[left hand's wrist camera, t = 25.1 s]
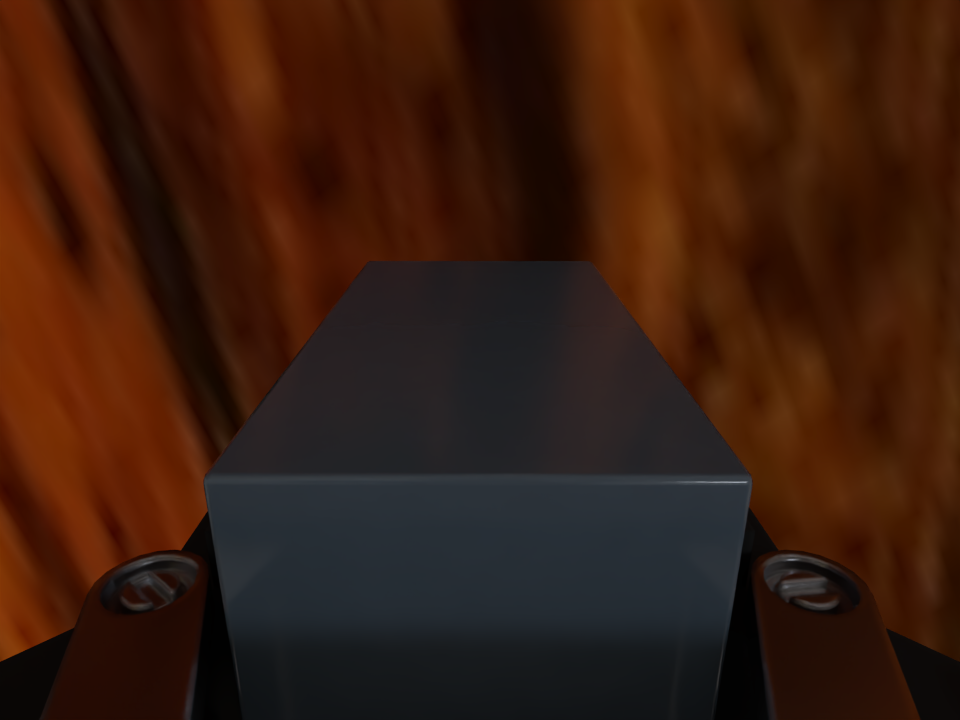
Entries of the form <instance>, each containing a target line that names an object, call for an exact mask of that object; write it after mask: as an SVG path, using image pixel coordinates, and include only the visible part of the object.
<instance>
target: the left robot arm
mask: <svg viewBox="0 0 960 720" xmlns="http://www.w3.org/2000/svg"><path fill="white" fill-rule="evenodd" d="M0 720H242V717H241V711H240V705H239V699H238V693H237V687H236V680H235V674H234V668H233V662H232V656H231V650H230V643H229V637H228V631H227V625H226V619H225V613H224V606H223V600H222V594H221V588H220V582H219V576H218V569H217V563H216V557H215V551H214V545H213V538H212V532H211V526H210V520H209V514H208V512H207V513H206V515H205V516H204V518H203V519H202V520H201V522H200V523H199V525H198V526H197V528H196V529H195V531H194V532H193V534H192V535H191V537H190V538H189V540H188V541H187V542H186V544H185V545H184V547H183V548H182V550H181V551H180V550H166V551H156V552H152V553H148V554H144V555H140V556H137V557H135V558H132V559H130V560H127V561H125V562H122V563H121V564H119V565H117V566H116V567H114V568H112V569H111V570H109V571H107V572H106V573H105V574H104V575H103V576H102V577H100V578H99V579H98V580H97V581H96V582H95V583H94V584H93V586H92V588H91V589H90V591H89V592H88V594H87V596H86V599H85V602H84V604H83V607H82V609H81V612H80V615H79V617H78V620H77V622H76V625H75V628H73V629H71V630H69V631H66V632H64V633H62V634H60V635H58V636H56V637H53V638H51V639H49V640H47V641H45V642H43V643H40V644H38V645H36V646H34V647H32V648H30V649H27V650H25V651H23V652H21V653H19V654H16V655H14V656H12V657H10V658H8V659H6V660H3V661H1V662H0ZM715 720H960V662H958V661H956V660H954V659H952V658H950V657H947V656H945V655H943V654H941V653H939V652H937V651H934V650H932V649H930V648H928V647H926V646H924V645H921V644H919V643H917V642H915V641H913V640H911V639H908V638H906V637H904V636H902V635H900V634H898V633H895V632H893V631H891V630H889V629H887V628H885V625H884V622H883V620H882V617H881V615H880V612H879V609H878V607H877V604H876V602H875V599H874V596H873V594H872V592H871V591H870V589H869V588H868V586H867V584H866V583H865V582H864V581H863V580H862V579H861V578H860V577H858V576H857V575H856V574H855V573H854V572H853V571H851V570H849V569H848V568H846V567H844V566H843V565H841V564H839V563H838V562H835V561H833V560H830V559H828V558H825V557H823V556H820V555H816V554H812V553H808V552H804V551H794V550H780V551H779V550H778V549H777V548H776V546H775V545H774V543H773V542H772V540H771V539H770V537H769V536H768V534H767V533H766V531H765V530H764V528H763V527H762V526H761V524H760V523H759V521H758V520H757V518H756V517H755V515H754V514H753V512H752V511H751V509H750V508H749V509H748V515H747V521H746V527H745V534H744V540H743V546H742V552H741V558H740V565H739V571H738V577H737V583H736V590H735V596H734V602H733V608H732V615H731V621H730V627H729V633H728V639H727V646H726V652H725V658H724V664H723V671H722V677H721V683H720V689H719V695H718V702H717V708H716V714H715Z"/></svg>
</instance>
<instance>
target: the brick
mask: <svg viewBox="0 0 960 720" xmlns="http://www.w3.org/2000/svg"><path fill="white" fill-rule="evenodd" d="M752 483H753V481H752V478H751V475H750V473H749V472H748V471H747V469H746V468H745V467H744V465H743V464H742V463H741V461H740V460H739V459H738V457H737V456H736V455H735V453H734V452H733V451H732V449H731V448H730V447H729V445H728V444H727V443H726V441H725V440H724V439H723V437H722V436H721V435H720V433H719V432H718V431H717V429H716V428H715V427H714V425H713V424H712V423H711V421H710V420H709V419H708V417H707V416H706V414H705V413H704V412H703V410H702V409H701V408H700V406H699V405H698V404H697V402H696V401H695V400H694V398H693V397H692V396H691V394H690V393H689V392H688V390H687V389H686V388H685V386H684V385H683V384H682V382H681V381H680V380H679V378H678V377H677V376H676V374H675V373H674V372H673V370H672V369H671V368H670V366H669V365H668V364H667V362H666V361H665V360H664V358H663V357H662V356H661V354H660V353H659V352H658V350H657V349H656V348H655V346H654V345H653V344H652V342H651V341H650V340H649V338H648V337H647V336H646V334H645V333H644V332H643V330H642V329H641V328H640V326H639V325H638V324H637V322H636V321H635V319H634V318H633V317H632V315H631V314H630V313H629V311H628V310H627V309H626V307H625V306H624V305H623V303H622V302H621V301H620V299H619V298H618V297H617V295H616V294H615V293H614V291H613V290H612V289H611V287H610V286H609V285H608V283H607V282H606V281H605V279H604V278H603V277H602V275H601V274H600V273H599V271H598V270H597V269H596V267H595V266H594V265H593V263H592V262H590V261H370V262H367V264H366V265H365V266H364V268H363V269H362V270H361V271H360V273H359V274H358V275H357V277H356V278H355V279H354V281H353V282H352V283H351V285H350V286H349V287H348V288H347V290H346V291H345V292H344V294H343V295H342V296H341V298H340V299H339V300H338V302H337V303H336V304H335V305H334V307H333V308H332V309H331V311H330V312H329V313H328V315H327V316H326V317H325V319H324V320H323V321H322V322H321V324H320V325H319V326H318V328H317V329H316V330H315V332H314V333H313V334H312V336H311V337H310V338H309V340H308V341H307V342H306V343H305V345H304V346H303V347H302V349H301V350H300V351H299V353H298V354H297V355H296V357H295V358H294V359H293V360H292V362H291V363H290V364H289V366H288V367H287V368H286V370H285V371H284V372H283V374H282V375H281V376H280V377H279V379H278V380H277V381H276V383H275V384H274V385H273V387H272V388H271V389H270V391H269V392H268V393H267V394H266V396H265V397H264V398H263V400H262V401H261V402H260V404H259V405H258V406H257V408H256V409H255V410H254V412H253V413H252V414H251V415H250V417H249V418H248V419H247V421H246V422H245V423H244V425H243V426H242V427H241V429H240V430H239V431H238V432H237V434H236V435H235V436H234V438H233V439H232V440H231V442H230V443H229V444H228V446H227V447H226V448H225V449H224V451H223V452H222V453H221V455H220V456H219V457H218V459H217V460H216V461H215V463H214V464H213V465H212V466H211V468H210V469H209V470H208V472H207V473H206V474H205V477H204V489H205V495H206V501H207V508H208V514H209V520H210V526H211V532H212V538H213V545H214V551H215V557H216V563H217V569H218V576H219V582H220V588H221V594H222V600H223V606H224V613H225V619H226V625H227V631H228V637H229V643H230V650H231V656H232V662H233V668H234V674H235V680H236V687H237V693H238V699H239V705H240V711H241V717H242V720H715V714H716V708H717V702H718V695H719V689H720V683H721V677H722V671H723V664H724V658H725V652H726V646H727V639H728V633H729V627H730V621H731V615H732V608H733V602H734V596H735V590H736V583H737V577H738V571H739V565H740V558H741V552H742V546H743V540H744V534H745V527H746V521H747V515H748V509H749V502H750V496H751V490H752Z"/></svg>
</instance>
